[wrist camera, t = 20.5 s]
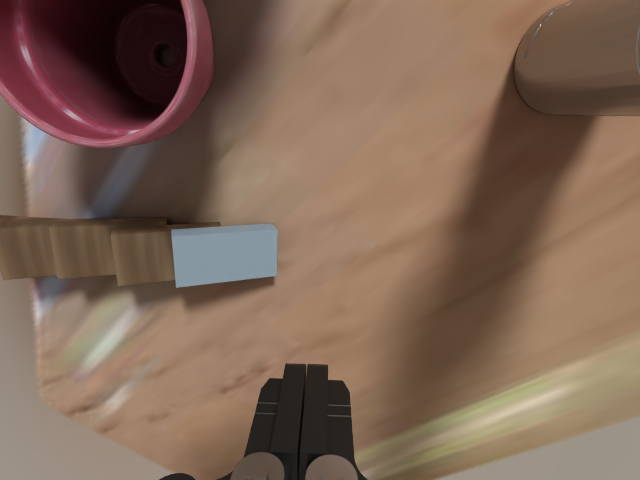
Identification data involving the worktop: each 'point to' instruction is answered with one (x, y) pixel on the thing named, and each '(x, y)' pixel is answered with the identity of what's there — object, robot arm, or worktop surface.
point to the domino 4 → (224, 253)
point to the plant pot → (104, 67)
